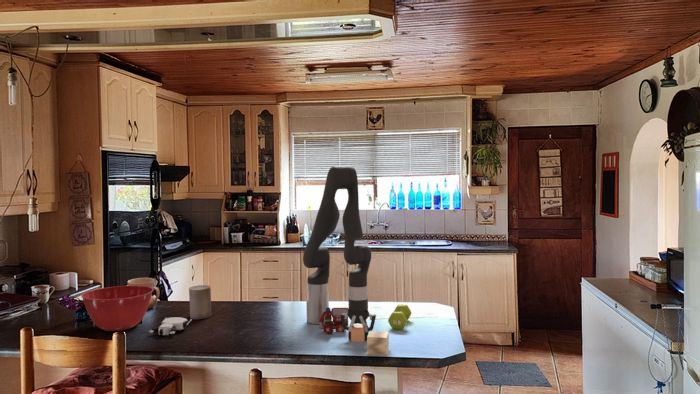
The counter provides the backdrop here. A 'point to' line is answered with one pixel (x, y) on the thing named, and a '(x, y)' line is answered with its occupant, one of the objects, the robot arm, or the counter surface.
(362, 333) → the terracotta block
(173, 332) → the robot toy
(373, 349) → the maple base block
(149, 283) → the ceramic jug
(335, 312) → the toy fire truck
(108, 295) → the mixing bowl
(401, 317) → the dumbbell
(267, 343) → the counter surface
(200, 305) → the pillar candle
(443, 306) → the counter surface
